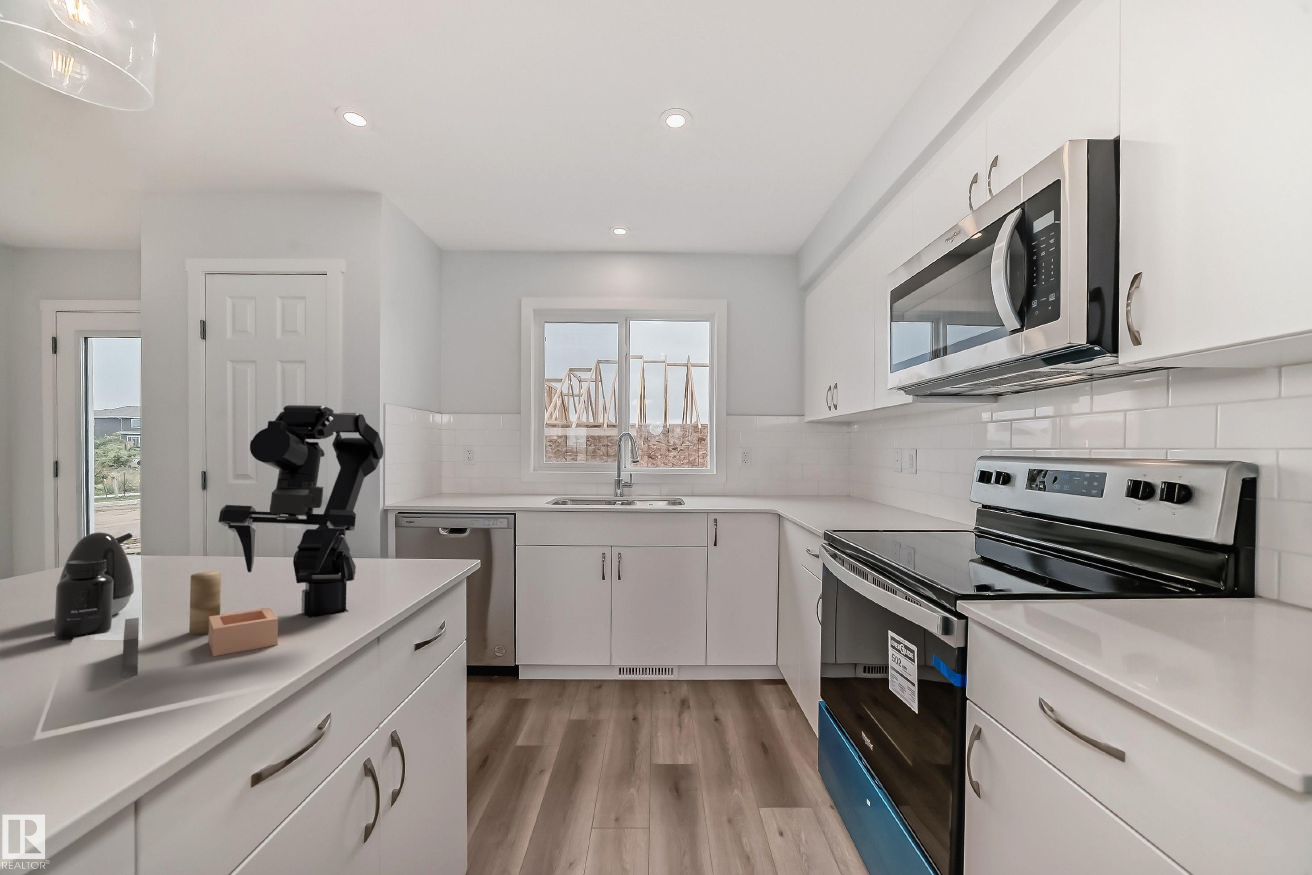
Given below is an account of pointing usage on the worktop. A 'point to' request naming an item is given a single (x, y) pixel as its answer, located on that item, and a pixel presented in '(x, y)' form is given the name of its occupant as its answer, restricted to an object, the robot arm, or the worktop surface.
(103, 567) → the supplement bottle
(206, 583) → the dowel
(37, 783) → the worktop surface
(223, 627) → the slider block
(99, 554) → the pump dispenser
